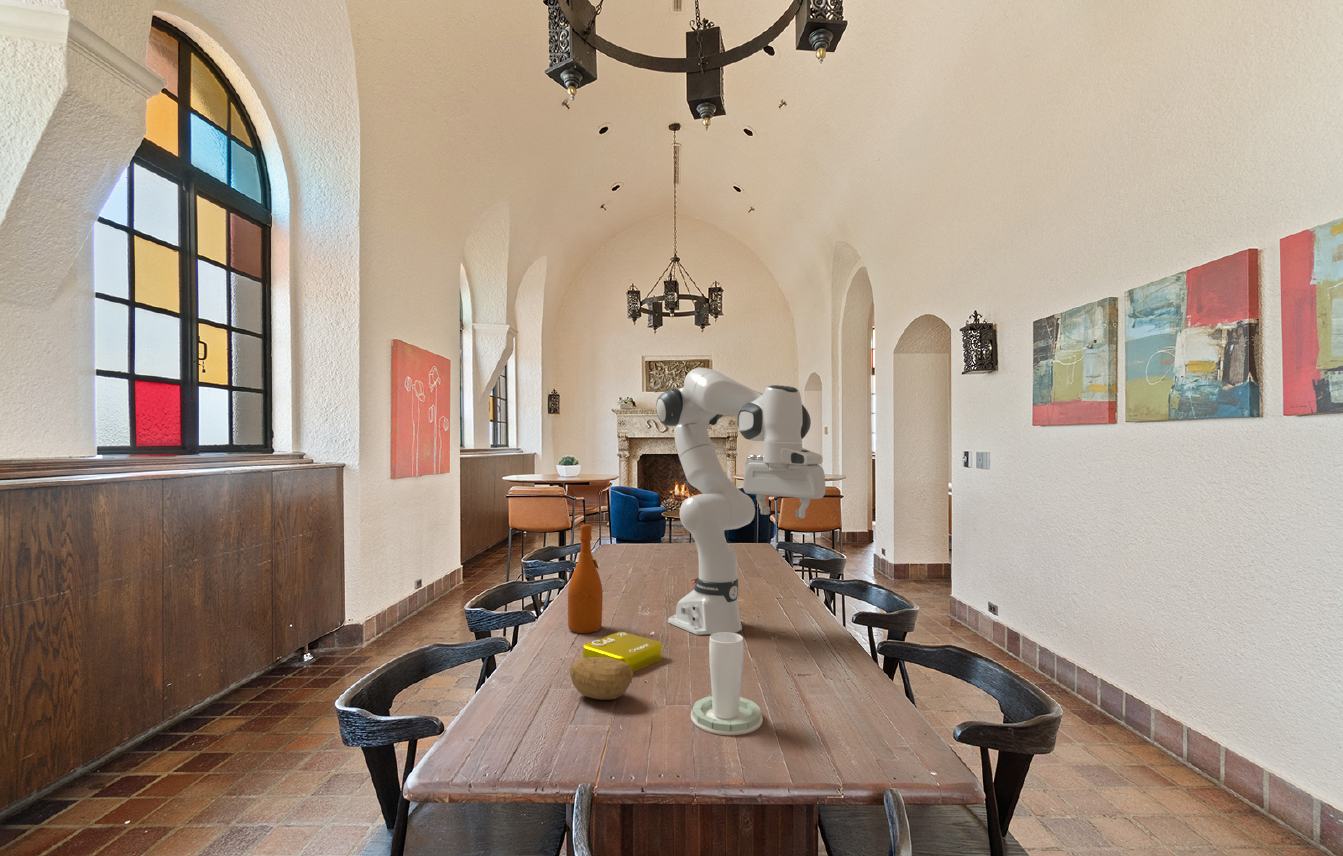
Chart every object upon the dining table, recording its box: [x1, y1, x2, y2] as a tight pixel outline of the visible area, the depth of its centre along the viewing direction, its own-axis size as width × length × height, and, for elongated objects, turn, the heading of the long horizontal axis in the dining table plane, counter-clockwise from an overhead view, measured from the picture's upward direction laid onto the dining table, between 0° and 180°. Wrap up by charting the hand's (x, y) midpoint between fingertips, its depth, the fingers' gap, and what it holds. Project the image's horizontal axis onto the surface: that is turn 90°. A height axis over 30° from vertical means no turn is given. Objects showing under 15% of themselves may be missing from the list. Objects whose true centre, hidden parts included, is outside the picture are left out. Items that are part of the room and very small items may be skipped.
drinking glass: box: [708, 632, 745, 719], centre depth 120 cm, size 7×7×15 cm
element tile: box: [582, 631, 663, 673], centre depth 151 cm, size 15×15×5 cm
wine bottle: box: [567, 523, 604, 634], centre depth 175 cm, size 10×10×30 cm
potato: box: [569, 657, 634, 701], centre depth 128 cm, size 10×14×8 cm
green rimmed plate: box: [690, 695, 764, 737], centre depth 119 cm, size 14×14×2 cm
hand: (782, 516), depth 140 cm, fingers open, 8 cm apart
